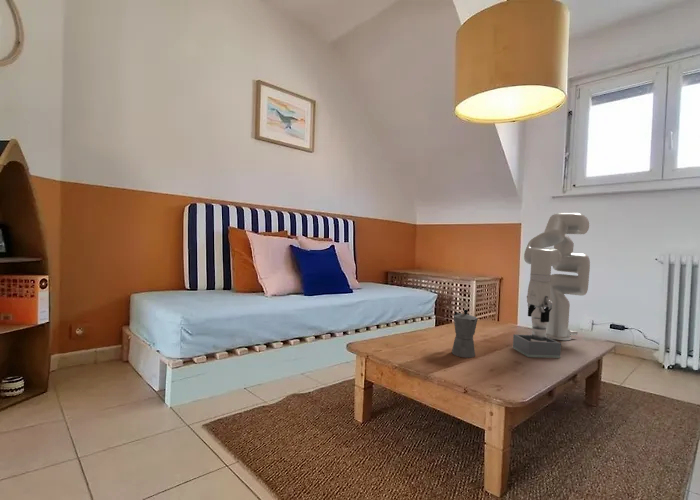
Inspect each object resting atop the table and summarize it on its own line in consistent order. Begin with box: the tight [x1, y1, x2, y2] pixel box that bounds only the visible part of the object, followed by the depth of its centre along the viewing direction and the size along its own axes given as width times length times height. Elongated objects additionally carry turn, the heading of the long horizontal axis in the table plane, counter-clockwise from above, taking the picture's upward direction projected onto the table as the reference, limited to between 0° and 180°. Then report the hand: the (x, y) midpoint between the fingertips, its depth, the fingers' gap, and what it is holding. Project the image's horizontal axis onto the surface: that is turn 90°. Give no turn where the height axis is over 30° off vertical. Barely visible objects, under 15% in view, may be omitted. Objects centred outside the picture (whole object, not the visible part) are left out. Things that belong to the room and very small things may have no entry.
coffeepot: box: [451, 308, 478, 359], centre depth 150 cm, size 15×9×18 cm, turn 12°
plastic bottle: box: [530, 306, 547, 342], centre depth 155 cm, size 6×7×20 cm
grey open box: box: [512, 333, 562, 359], centre depth 156 cm, size 13×12×6 cm
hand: (538, 319), depth 156 cm, fingers open, 9 cm apart
